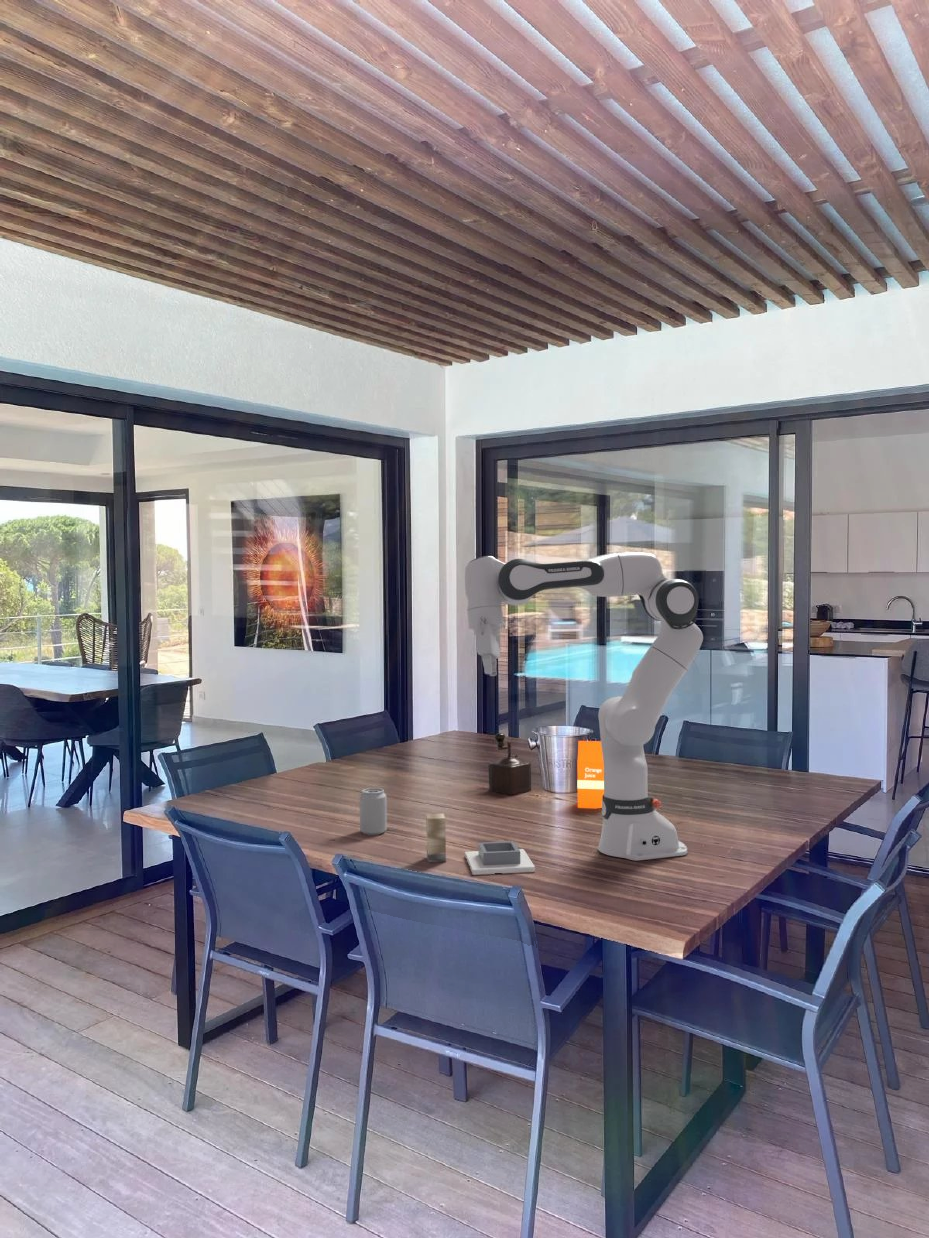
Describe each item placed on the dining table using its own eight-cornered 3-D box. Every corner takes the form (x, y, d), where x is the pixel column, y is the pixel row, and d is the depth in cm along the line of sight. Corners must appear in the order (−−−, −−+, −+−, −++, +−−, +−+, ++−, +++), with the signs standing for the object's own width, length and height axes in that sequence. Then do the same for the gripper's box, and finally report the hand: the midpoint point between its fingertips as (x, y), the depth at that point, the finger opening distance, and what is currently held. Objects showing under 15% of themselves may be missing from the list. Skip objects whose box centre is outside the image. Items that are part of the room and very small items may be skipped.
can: (387, 828, 262) (387, 786, 261) (386, 835, 254) (385, 792, 254) (361, 829, 262) (360, 786, 261) (358, 836, 254) (358, 793, 254)
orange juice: (606, 808, 281) (606, 743, 281) (577, 807, 283) (576, 742, 282) (607, 802, 289) (607, 739, 288) (579, 801, 291) (579, 738, 290)
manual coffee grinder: (533, 790, 307) (533, 736, 306) (510, 796, 300) (510, 740, 299) (500, 783, 318) (500, 731, 318) (477, 788, 311) (476, 735, 310)
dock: (523, 853, 236) (523, 837, 236) (535, 871, 221) (534, 854, 221) (465, 856, 234) (465, 839, 234) (472, 874, 220) (472, 857, 219)
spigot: (444, 856, 234) (443, 813, 234) (445, 861, 230) (445, 818, 230) (426, 857, 234) (426, 814, 233) (428, 862, 230) (427, 818, 229)
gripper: (493, 614, 223) (498, 671, 221) (502, 623, 243) (507, 675, 242) (467, 617, 224) (472, 673, 222) (478, 625, 244) (483, 678, 242)
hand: (490, 674), depth 232 cm, fingers open, 8 cm apart
